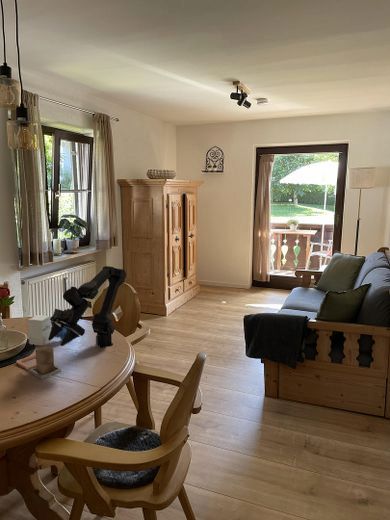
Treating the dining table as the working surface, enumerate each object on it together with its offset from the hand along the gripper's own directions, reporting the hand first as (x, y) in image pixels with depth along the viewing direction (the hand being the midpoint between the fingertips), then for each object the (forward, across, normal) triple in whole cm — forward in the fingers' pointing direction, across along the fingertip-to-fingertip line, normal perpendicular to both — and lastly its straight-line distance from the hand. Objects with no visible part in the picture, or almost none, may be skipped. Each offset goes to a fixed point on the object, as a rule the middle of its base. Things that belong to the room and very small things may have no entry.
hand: (54, 342), depth 161 cm
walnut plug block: (+11, 0, +5) cm, 12 cm away
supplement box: (+1, -31, +15) cm, 35 cm away
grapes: (-5, -24, +21) cm, 32 cm away
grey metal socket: (+11, 0, +5) cm, 12 cm away
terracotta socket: (+10, -12, +5) cm, 17 cm away
